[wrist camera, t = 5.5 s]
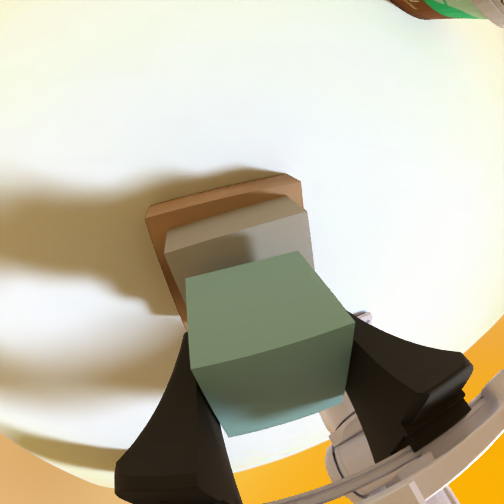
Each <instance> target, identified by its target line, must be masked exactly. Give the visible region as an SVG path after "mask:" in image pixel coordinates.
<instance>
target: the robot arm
mask: <svg viewBox="0 0 504 504" xmlns="http://www.w3.org/2000/svg"><path fill="white" fill-rule="evenodd" d="M346 311H347V310H346ZM347 312H348V311H347ZM348 313H349V315H350V316H351V317H352V318H353V320H354V321H355V328H354V336H353V344H352V351H351V358H350V364H349V370H348V376H347V382H346V387H345V392H344V397H343V402H342V403H341V404H339V405H336V406H334V407H331V408H328V409H326V410H323V411H320V412H319V413H320V415H321V418H322V420H323V422H324V424H325V426H326V428H327V429H328V431H329V432H330V433H331V435H329V438H330V440H331V442H332V445H330V446H329V447H328V448H327V452H326V457H325V464H326V469H327V472H328V475H329V477H330V479H331V481H332V483H331V484H328V485H325V486H323V487H320V488H317V489H314V490H311V491H308V492H305V493H302V494H299V495H295V496H292V497H288V498H285V499H281V500H277V501H273V502H269V503H264V504H323V503H326V502H329V501H332V500H334V499H337V498H339V497H341V496H345V497H347V498H349V499H350V500H351V501H352V502H353V503H354V504H460V503H459V501H458V500H457V498H456V496H455V495H454V493H453V492H452V490H451V489H450V487H449V486H448V484H449V483H451V482H452V481H453V480H454V479H455V478H457V477H458V476H459V475H460V474H461V473H462V472H464V470H466V469H467V468H468V467H469V466H470V465H471V464H472V463H474V462H475V461H476V460H477V459H478V458H479V457H480V456H481V455H482V454H483V453H484V452H485V451H486V450H487V449H488V448H489V447H490V446H491V445H492V444H493V443H494V442H495V440H496V439H497V438H498V437H499V436H500V435H501V434H502V433H503V431H504V370H503V369H501V370H500V371H499V372H498V373H497V374H496V375H495V376H494V377H493V378H492V379H491V380H490V381H489V382H488V383H487V384H486V385H485V387H484V388H483V389H482V391H481V393H480V394H479V395H478V396H477V397H475V398H474V399H473V400H472V401H471V402H470V403H468V404H467V402H466V401H465V400H464V399H463V398H464V396H465V393H464V392H463V391H462V388H463V387H464V385H465V384H466V382H467V380H468V379H469V377H470V375H471V374H472V371H473V365H472V364H471V363H470V362H469V360H468V359H467V358H466V357H465V356H464V355H463V354H462V353H461V352H454V351H446V350H440V349H435V348H430V347H426V346H422V345H418V344H415V343H412V342H409V341H406V340H403V339H400V338H398V337H395V336H393V335H391V334H388V333H386V332H384V331H382V330H380V329H378V328H376V327H374V326H372V325H371V320H372V315H371V313H369V312H367V313H365V314H362V315H359V316H357V317H356V316H355V315H353V314H351V313H350V312H348ZM115 494H116V495H117V496H118V497H119V498H121V499H123V500H125V501H128V502H130V503H132V504H243V503H242V500H241V497H240V494H239V491H238V488H237V485H236V483H235V479H234V476H233V473H232V469H231V466H230V462H229V459H228V455H227V451H226V448H225V444H224V439H223V435H222V431H221V426H220V422H219V420H218V419H217V417H216V415H215V413H214V412H213V410H212V408H211V406H210V405H209V403H208V401H207V399H206V397H205V395H204V394H203V392H202V390H201V388H200V386H199V384H198V382H197V380H196V378H195V377H194V375H193V373H192V371H191V366H190V354H189V340H188V332H185V334H184V336H183V340H182V344H181V348H180V352H179V355H178V358H177V361H176V364H175V367H174V370H173V373H172V375H171V378H170V380H169V383H168V385H167V388H166V390H165V392H164V394H163V396H162V399H161V401H160V402H159V404H158V406H157V408H156V410H155V412H154V413H153V415H152V417H151V419H150V420H149V422H148V423H147V425H146V426H145V428H144V429H143V431H142V432H141V433H140V435H139V436H138V438H137V439H136V440H135V442H134V443H133V444H132V446H131V447H130V448H129V449H128V450H127V451H126V452H125V454H124V455H123V456H122V457H121V458H120V459H119V460H118V461H117V462H116V467H115Z"/></svg>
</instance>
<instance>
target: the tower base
mask: <svg viewBox="0 0 504 504" xmlns="http://www.w3.org/2000/svg"><path fill="white" fill-rule="evenodd" d="M286 195H287V196H288V197H289V198H291V199H292V200H293V201H294V202H296V203H297V204H298V205H300V206H301V207H302V208H303V198H302V188H301V181H299V180H297V179H295V178H293V177H292V176H290V175H288V174H282V175H277V176H272V177H267V178H262V179H257V180H252V181H247V182H243V183H238V184H234V185H229V186H225V187H221V188H216V189H212V190H208V191H204V192H200V193H196V194H192V195H188V196H184V197H180V198H177V199H173V200H169V201H166V202H162V203H158V204H155V205H151V206H150V207H149V209H148V212H147V214H146V217H145V221H146V224H147V227H148V230H149V233H150V236H151V239H152V242H153V245H154V248H155V251H156V254H157V257H158V260H159V262H160V265H161V268H162V271H163V273H164V276H165V279H166V281H167V284H168V287H169V289H170V292H171V294H172V297H173V299H174V302H175V304H176V307H177V309H178V312H179V314H180V317H181V319H182V321H183V324H184V326H185V328H186V331H187V332H188V325H187V307H186V304H185V302H184V300H183V298H182V296H181V293H180V291H179V289H178V286H177V284H176V282H175V279H174V277H173V275H172V272H171V270H170V267H169V265H168V263H167V260H166V258H165V255H164V250H165V243H166V236H167V230H169V229H172V228H175V227H179V226H182V225H185V224H188V223H191V222H195V221H198V220H201V219H204V218H208V217H211V216H214V215H218V214H221V213H225V212H228V211H231V210H235V209H238V208H242V207H245V206H249V205H253V204H256V203H260V202H263V201H267V200H271V199H274V198H278V197H282V196H286ZM303 209H304V208H303Z"/></svg>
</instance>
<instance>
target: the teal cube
mask: <svg viewBox="0 0 504 504" xmlns="http://www.w3.org/2000/svg"><path fill="white" fill-rule="evenodd" d="M185 280H186V306H187V325H188V340H189V354H190V366H191V371H192V373H193V375H194V377H195V378H196V380H197V382H198V384H199V386H200V388H201V390H202V392H203V394H204V395H205V397H206V399H207V401H208V403H209V405H210V406H211V408H212V410H213V412H214V413H215V415H216V417H217V419H218V420H219V422H220V424H221V425H222V427H223V429H224V430H225V432H226V434H227V435H228V437H233V436H238V435H243V434H247V433H251V432H255V431H259V430H263V429H267V428H270V427H274V426H277V425H281V424H284V423H287V422H291V421H294V420H297V419H300V418H303V417H306V416H309V415H312V414H315V413H318V412H320V411H323V410H326V409H328V408H331V407H334V406H336V405H339V404H341V403H342V402H343V397H344V392H345V387H346V382H347V376H348V370H349V364H350V358H351V351H352V344H353V336H354V328H355V321H354V320H353V318H352V317H351V316H350V315H349V313H348V312H347V311H346V310H345V308H344V307H343V306H342V304H341V303H340V302H339V301H338V299H337V298H336V297H335V296H334V294H333V293H332V292H331V291H330V289H329V288H328V287H327V286H326V284H325V283H324V282H323V281H322V279H321V278H320V277H319V276H318V274H317V273H316V272H315V271H314V269H313V268H312V267H311V266H310V265H309V263H308V262H307V261H306V260H305V258H304V257H303V256H302V255H301V254H300V252H299V251H294V252H290V253H286V254H282V255H278V256H274V257H270V258H266V259H262V260H258V261H254V262H250V263H246V264H242V265H238V266H234V267H230V268H226V269H222V270H218V271H214V272H210V273H205V274H201V275H197V276H193V277H189V278H185Z"/></svg>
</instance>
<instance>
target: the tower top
mask: <svg viewBox="0 0 504 504" xmlns="http://www.w3.org/2000/svg"><path fill="white" fill-rule="evenodd" d="M294 251H299V252H300V254H301V255H302V256H303V257H304V258H305V260H306V261H307V262H308V263H309V265H310V266H311V267H312V268H313V269H314V262H313V253H312V245H311V237H310V229H309V222H308V215H307V211H306V210H305V209H303V208H302V207H301V206H300V205H298V204H297V203H296V202H294V201H293V200H292V199H291V198H289V197H288V196H287V195H286V196H282V197H278V198H274V199H271V200H267V201H263V202H260V203H256V204H253V205H249V206H245V207H242V208H238V209H235V210H231V211H228V212H225V213H221V214H218V215H214V216H211V217H208V218H204V219H201V220H198V221H195V222H191V223H188V224H185V225H182V226H179V227H175V228H172V229H169V230H167V236H166V243H165V250H164V255H165V258H166V260H167V263H168V265H169V267H170V270H171V272H172V275H173V277H174V279H175V282H176V284H177V286H178V289H179V291H180V293H181V296H182V298H183V300H184V302H185V304H186V280H185V278H189V277H193V276H197V275H201V274H205V273H210V272H214V271H218V270H222V269H226V268H230V267H234V266H238V265H242V264H246V263H250V262H254V261H258V260H262V259H266V258H270V257H274V256H278V255H282V254H286V253H290V252H294ZM186 307H187V306H186Z"/></svg>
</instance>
